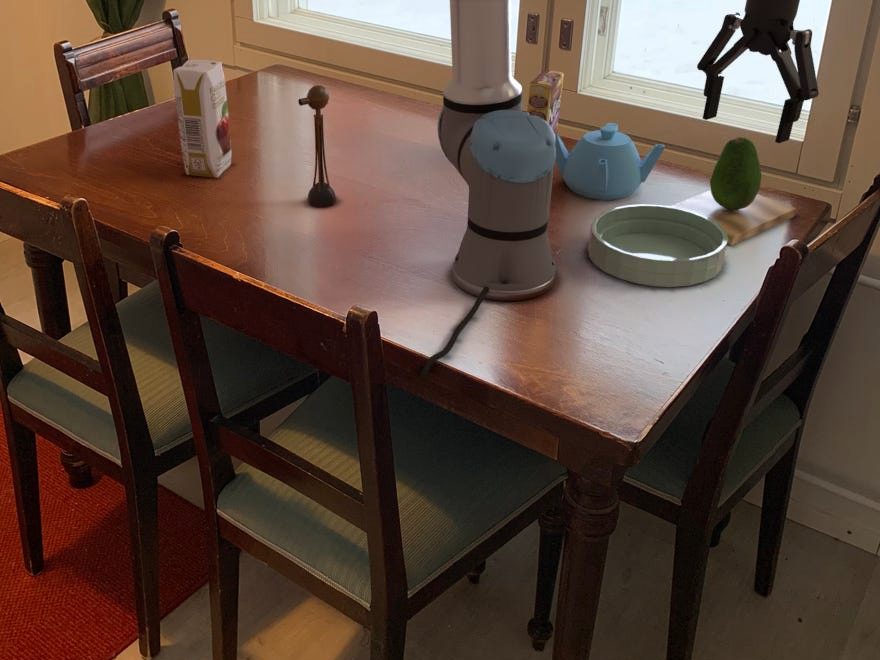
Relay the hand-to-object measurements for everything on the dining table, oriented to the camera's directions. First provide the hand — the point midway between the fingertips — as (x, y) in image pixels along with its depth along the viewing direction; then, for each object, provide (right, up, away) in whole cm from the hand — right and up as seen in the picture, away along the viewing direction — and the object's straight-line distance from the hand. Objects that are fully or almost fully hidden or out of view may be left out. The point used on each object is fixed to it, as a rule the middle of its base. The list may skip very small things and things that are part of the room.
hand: (744, 129), depth 160 cm
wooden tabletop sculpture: (-69, -9, +13) cm, 71 cm away
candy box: (-29, +3, +31) cm, 42 cm away
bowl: (-15, -21, -4) cm, 27 cm away
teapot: (-19, -5, +19) cm, 27 cm away
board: (0, -12, +9) cm, 15 cm away
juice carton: (-90, -1, +25) cm, 94 cm away
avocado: (0, -11, +8) cm, 14 cm away
